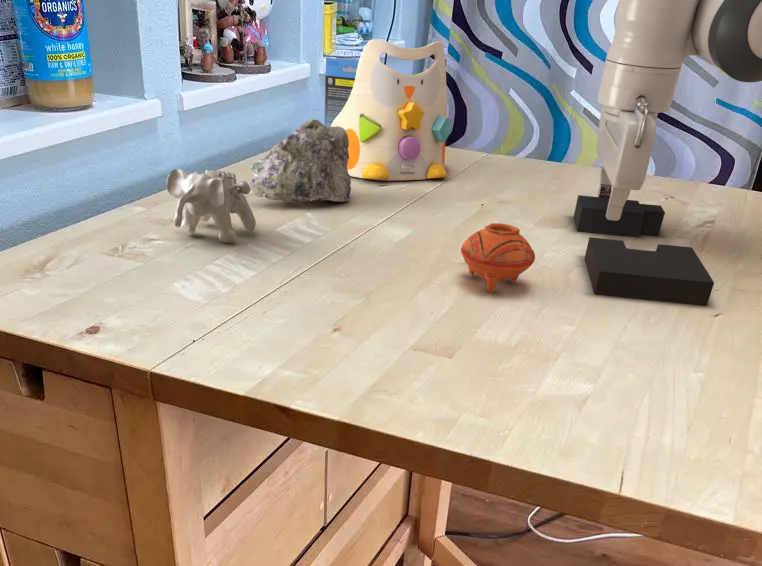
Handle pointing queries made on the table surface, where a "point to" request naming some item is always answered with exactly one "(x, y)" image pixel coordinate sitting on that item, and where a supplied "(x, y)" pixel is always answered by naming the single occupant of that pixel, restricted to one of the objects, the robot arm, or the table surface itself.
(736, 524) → the table surface
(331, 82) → the tape cartridge
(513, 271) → the pot
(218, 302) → the table surface
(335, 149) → the mineral rock
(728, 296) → the table surface
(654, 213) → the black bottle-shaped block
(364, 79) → the shape sorter
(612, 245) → the black notched square block
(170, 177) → the gray elephant figurine
